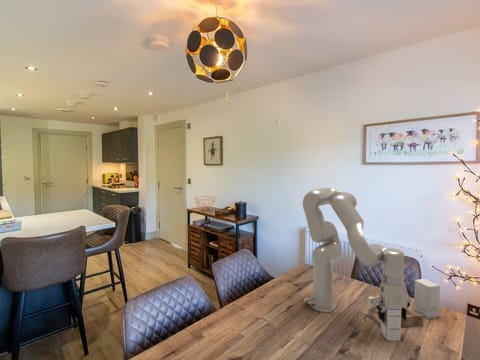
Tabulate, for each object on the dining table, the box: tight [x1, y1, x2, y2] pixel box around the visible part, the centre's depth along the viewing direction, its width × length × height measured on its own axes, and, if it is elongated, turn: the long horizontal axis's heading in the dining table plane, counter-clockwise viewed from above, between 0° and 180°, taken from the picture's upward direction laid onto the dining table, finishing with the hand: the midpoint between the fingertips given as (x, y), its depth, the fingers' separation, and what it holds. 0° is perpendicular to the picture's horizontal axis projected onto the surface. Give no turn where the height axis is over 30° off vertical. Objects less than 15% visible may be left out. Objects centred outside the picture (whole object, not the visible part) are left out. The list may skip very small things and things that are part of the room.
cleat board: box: [367, 294, 424, 328], centre depth 123 cm, size 20×11×9 cm, turn 98°
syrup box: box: [379, 306, 402, 342], centre depth 111 cm, size 6×6×14 cm
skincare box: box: [413, 278, 441, 319], centre depth 128 cm, size 8×7×16 cm
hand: (392, 318), depth 110 cm, fingers open, 9 cm apart
